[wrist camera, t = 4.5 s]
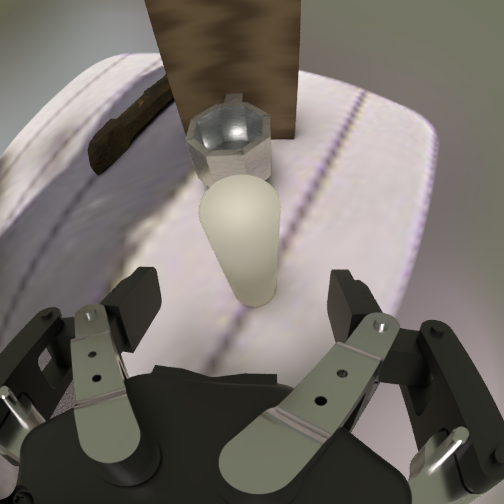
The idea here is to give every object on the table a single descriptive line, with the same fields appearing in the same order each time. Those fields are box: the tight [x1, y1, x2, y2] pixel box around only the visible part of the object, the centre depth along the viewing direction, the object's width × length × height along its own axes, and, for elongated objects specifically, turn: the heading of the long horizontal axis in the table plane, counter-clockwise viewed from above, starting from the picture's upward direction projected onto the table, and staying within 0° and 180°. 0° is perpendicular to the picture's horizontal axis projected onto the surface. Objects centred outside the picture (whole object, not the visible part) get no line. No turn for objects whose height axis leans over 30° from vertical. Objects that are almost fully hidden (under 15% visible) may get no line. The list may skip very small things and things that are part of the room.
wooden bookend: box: [145, 0, 301, 139], centre depth 21 cm, size 12×6×20 cm, turn 88°
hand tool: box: [88, 74, 174, 174], centre depth 30 cm, size 19×4×5 cm, turn 151°
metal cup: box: [185, 93, 271, 187], centre depth 23 cm, size 7×9×5 cm
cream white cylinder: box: [198, 175, 281, 307], centre depth 17 cm, size 4×4×12 cm
